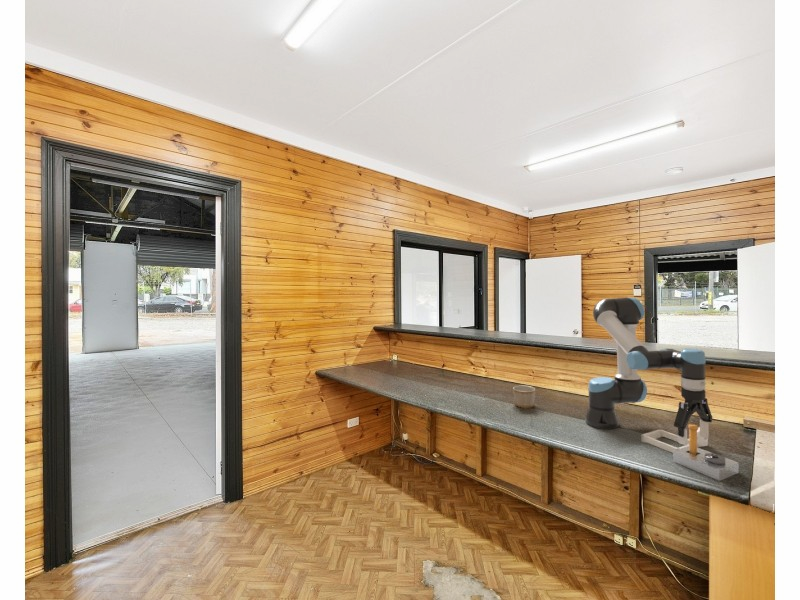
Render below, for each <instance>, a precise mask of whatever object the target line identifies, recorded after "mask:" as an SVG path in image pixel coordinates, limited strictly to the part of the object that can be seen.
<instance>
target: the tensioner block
mask: <svg viewBox="0 0 800 600" xmlns="http://www.w3.org/2000/svg"><path fill="white" fill-rule="evenodd" d="M672 461H673V463H676V464H678V465H681V466H683V467H685V468H688V469H690V470H693V471H695V472H697V473H700V474H702V475H704V476H706V477H709V478H711V479H712V480H713V479H714V480H716V481H719V482H720V481H723V480H726V479H727V478H730V477H732V476H735V475H737V474H739V469H740V466H739V464H740V463H739V462H738V461H735V460H733V459H730V458H727V457H724V456H723V455H721V454H719V453H715V452H711V451H709V450H705V449H702V448H700V447H697V455H696V456H695V455H693V454H690V453H689V446H688V447H685V448H682V449H679V450H676V451H673V453H672Z"/></svg>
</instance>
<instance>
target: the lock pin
mask: <svg viewBox="0 0 800 600" xmlns="http://www.w3.org/2000/svg"><path fill="white" fill-rule="evenodd" d="M687 428H688V430H689V435H688V436H689V453H690V454H693V455H695V456H696V455H697V430H698V428H699V425H697V424H693V423H692V424H690V423H688V424H687Z"/></svg>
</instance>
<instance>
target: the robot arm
mask: <svg viewBox="0 0 800 600" xmlns="http://www.w3.org/2000/svg"><path fill="white" fill-rule="evenodd" d="M644 316H645V308H644V306H643V303H642V302H641V301H640V300H639V299H638V298H636V297H618V298H604V299H601V300H599V301H598V302H596V304H595V305H594V307H593V310H592V317H593V319H594V321H595V322H596V323H597V325H598V326H600V327H601V328H602V327H603V329H605V331H606V332H607V333H608V334H609V335H610V336H611V338H612V339H613V340H614V341H615V342H616V357H617V358H616V361H617V362H616V363H617V365H616V366H617V373H616V374H614V379H613V378H611V377H609V376H608V377H607V376H605V377H604V376H597V377H594V378H591V379H590V380H589V381H588V387H587V388H588V409H587V412H586V415H585V423H586V424H587V425H588V424H589V426H590V425H591V426H590V427H593V426H594V427H593V428H596V427H597V429H601V428H602V429H603V430H613V429H617V428H618V427H620V426H619V425H620V424H619V422H620V421H619V418H618V417H617V414H616V410H615V404H636V403H641V402H644V400H645V399H646V398H647V395H648V387H647V384H646V382H645V381H644V380H643V379H642V377H641V376H640V375H639V374H638V370H641V371H643V370H658V369H662V370H663V369H675V370H679V371H680V373H681V374H680V379H681V380H680V386H681V392H680V395H681V397H682V398H683V399H684V402H682V401H679V402H678V409H677V411H676V412H677V413H676V416H675V419H674V422H673V427H676V428H677V433H678V434H677V435H678V442H677V443H678V444H680V445H682V446H686V445H687V439H688V429H687V427H688V424H689V421H690V419H691V417H692V415H694V414H695V413H697V415H698V416H699V418H700V419H699V427H700V436H701V437H704V438H708V439H709V423H712V421H713V415H712V412H711V410H710V407H709V403H708V398H706V385H707V382H706V363H707V360H706V354H705V351H704V350H701V349H698V348H682V349H681V350H678V349H674V348H667V347H666V348H662V349H659V350H648V349H647V347H645V346H644V345H643V344H642V343H641V342H640V340H639V339H638V338H637V334H636V333H637V328H636V327H638V326H639V324H640V321H641V320H643V318H644Z"/></svg>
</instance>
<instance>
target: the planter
mask: <svg viewBox="0 0 800 600" xmlns="http://www.w3.org/2000/svg"><path fill="white" fill-rule="evenodd" d="M512 391H513V398H514V405H515V406H516V407H517V406H518V408H520V407H521V409H531V408H533V407H534V405H535V398H536V397H535V396H536V388H535V387H533V386H530V385H525V384H524V385H516V386H513V387H512Z"/></svg>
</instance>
